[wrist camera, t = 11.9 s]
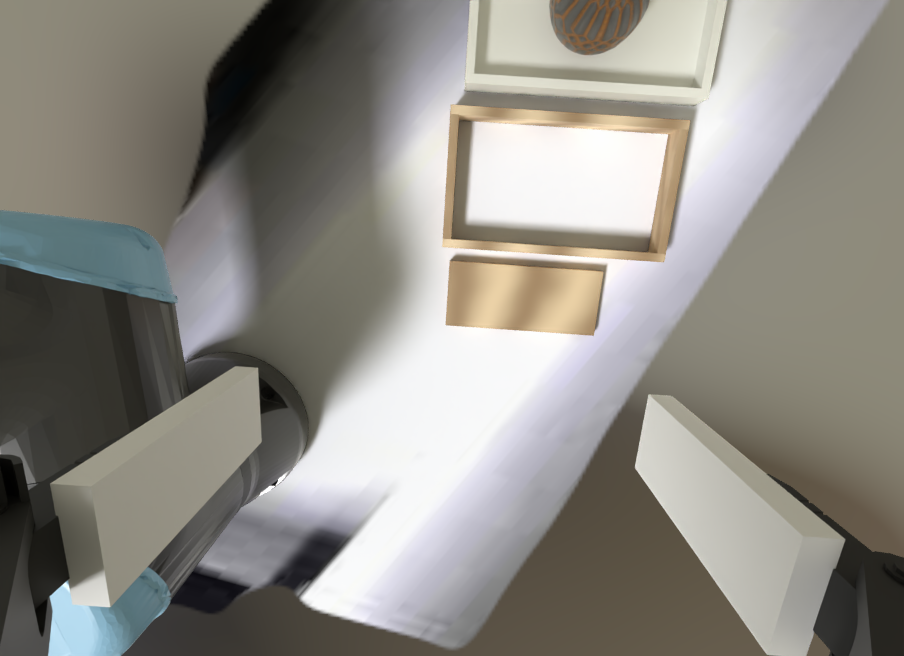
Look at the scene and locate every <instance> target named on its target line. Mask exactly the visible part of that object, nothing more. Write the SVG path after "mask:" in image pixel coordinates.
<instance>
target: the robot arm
mask: <svg viewBox="0 0 904 656" xmlns="http://www.w3.org/2000/svg"><path fill="white" fill-rule="evenodd" d="M175 303H177V296H176V295H174V294H173V291H172V287H171V283H170V278H169V274H168V270H167V266H166V262H165V258H164V253H163V250H162V248H161V246H160V245H159V243H158V242H157V241H156V240H155V239H154V238H153V237H152V236H151V235H150V234H148V233H146V232H145V231H143V230H141V229H139V228H136V227H133V226H129V225H124V224H117V223H111V222H104V221H96V220H88V219H80V218H71V217H63V216H53V215H45V214H35V213H26V212H15V211H4V210H0V656H120V655H122V654H123V653H124V652H125V651H126V650H127V649H128V648H129V647H130V646H131V645H132V644H133V643H134V641H135V640H136V639H137V638H138V637H139V636H140V635H141V633H142V632H143V631H144V630H145V629H146V628H147V627H148V625H149V624H150V623H151V622H152V621H153V620H154V619H155V618H157V617H158V616H159V615H161V614H162V613H163V612H164V611H165V610H166V608H167V607H168V605H169V603H170V601H171V599H172V598H173V597H174V595H175V594H176V593H177V591H178V590H179V589H180V587H181V586H182V585H183V583H184V582H185V581H186V579H187V578H188V577H189V575H190V574H191V573H192V571H193V570H194V569H195V567H196V566H197V565H198V563H199V562H200V561H201V559H202V558H203V557H204V555H205V554H206V553H207V551H208V550H209V549H210V547H211V546H212V545H213V544H214V542H215V541H216V540H217V538H218V537H219V536H220V534H221V533H222V532H223V530H224V529H225V528H226V526H227V525H228V524H229V522H230V521H231V520H232V518H233V517H234V516H235V515H236V513H237V512H238V511H239V509H240V508H241V507H243V506H244V505H246V504H248V503H249V502H251V501H253V500H254V499H256V498H257V497H258V496H260V495H262V494H264V493H266V492H268V491H270V490H271V489H273V488H274V487H276V486H277V485H278V484H280V483H281V482H282V481H283V480H284V479H285V478H286V477H287V476H288V475H289V474H290V472H291V471H292V469H293V468H294V467H295V465H296V464H297V462H298V461H299V459H300V458H301V456H302V454H303V452H304V449H305V446H306V443H307V438H308V420H307V414H306V411H305V407H304V405H303V402H302V400H301V398H300V396H299V394H298V393H297V391H296V390H295V388H294V387H293V385H292V384H291V383H290V382H289V381H288V380H287V379H286V378H285V377H284V376H283V375H282V374H281V373H280V372H279V371H277V370H276V369H275V368H273V367H272V366H270V365H269V364H267V363H265V362H263V361H261V360H259V359H256V358H254V357H251V356H248V355H244V354H239V353H231V352H220V353H212V354H208V355H204V356H201V357H198V358H196V359H194V360H192V361H190V362H188V363H186V364H185V362H184V356H183V350H182V345H181V339H180V333H179V327H178V320H177V313H176V306H175ZM635 469H636V470H637V471H638V473H639V474H640V476H641V477H642V478H643V480H644V481H645V483H646V484H647V485H648V487H649V488H650V490H651V491H652V493H653V494H654V495H655V497H656V498H657V500H658V501H659V502H660V504H661V505H662V507H663V508H664V510H665V511H666V512H667V514H668V515H669V517H670V518H671V519H672V521H673V522H674V524H675V525H676V527H677V528H678V529H679V531H680V532H681V534H682V535H683V536H684V538H685V539H686V540H687V542H688V543H689V545H690V546H691V548H692V549H693V550H694V552H695V554H696V555H697V556H698V558H699V559H700V561H701V562H702V563H703V565H704V566H705V568H706V569H707V570H708V572H709V573H710V575H711V576H712V577H713V579H714V580H715V582H716V583H717V585H718V586H719V588H720V589H721V590H722V592H723V593H724V595H725V596H726V597H727V599H728V600H729V602H730V603H731V604H732V606H733V607H734V609H735V610H736V612H737V613H738V614H739V616H740V617H741V619H742V620H743V622H745V624H746V626H747V627H748V628H749V630H750V631H751V633H752V634H753V636H754V637H755V638H756V640H757V641H758V643H759V644H760V646H761V647H762V648H763V650H764V651H765V653H766V654H767V655H778V656H806V655H807V652H808V649H809V646H810V643H811V640H812V637H813V634H814V632H815V633H816V634H817V635H818V637H819V638H820V639H821V640H822V641H823V642H824V643H825V645H826V646H827V647H828V648H829V649H830V651H831V652H830V654H829V656H904V558H903V557H899V556H896V555H893V554H890V553H882V552H876V551H875V552H872V551H871V550H870V549H868V548H867V547H866V546H865V545H863V544H862V543H861V542H860V541H858V540H857V539H856V538H855V537H853V536H852V535H851V534H850V533H848V532H847V531H846V530H845V529H843V528H842V527H841V526H840V525H839V524H837V523H836V522H835V521H834V520H832V519H831V518H830V517H828V516H827V515H823V512H822V511H821V510H820V509H818V508H817V507H816V506H815V505H814V504H812V503H809V502H808V500H807V499H806V498H805V497H803V496H802V495H801V494H800V493H799V492H797V491H796V490H795V489H794V488H792V487H791V486H789V485H787V484H785V483H784V482H782V481H780V480H778V479H776V478H775V477H773V476H771V475H769V474H766V473H764V472H763V471H762V470H761V469H760V468H758V467H757V466H756V465H754V463H752V462H751V461H750V460H749V459H747V458H746V457H745V456H744V455H743V454H741V453H740V452H739V451H738V450H737V449H735V448H734V447H733V446H732V445H730V444H729V443H728V442H727V441H726V440H724V439H723V438H722V437H721V436H720V435H718V434H717V433H716V432H715V431H714V430H712V429H711V428H710V427H709V426H707V425H706V424H705V423H704V422H702V421H701V420H700V419H699V418H698V417H697V416H695V415H694V414H693V413H692V412H690V411H689V410H688V409H687V408H686V407H684V406H683V405H682V404H681V403H680V402H678V401H677V400H676V399H675V398H674V397H672V396H666V395H650V394H649V396H648V401H647V406H646V411H645V417H644V422H643V428H642V433H641V438H640V444H639V449H638V454H637V459H636V465H635Z"/></svg>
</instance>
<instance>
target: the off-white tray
mask: <svg viewBox="0 0 904 656" xmlns="http://www.w3.org/2000/svg"><path fill="white" fill-rule="evenodd" d="M549 4H550V0H470V10H469V25H468V40H467V55H466V70H465V91H472V92H488V93H503V94H518V95H533V96H548V97H563V98H579V99H594V100H609V101H624V102H639V103H654V104H670V105H685V106H695V105H697V104H699V103H701V102H703V101H705V100H707V99H708V98H709V93H710V88H711V83H712V78H713V72H714V67H715V62H716V57H717V52H718V47H719V41H720V36H721V31H722V26H723V21H724V15H725V10H726V5H727V0H650V3H649V6H648V8H647V10H646V12H645V14H644V16H643V18H642V20H641V21H640V23H639V24H638V26H637V27H636V28H635V30H634V31H633V32H632V33H631V34H630V35H629V36H628V37H627V38H626V39H625V40H624V41H623V42H621V43H620V44H619V45H618V46H616V47H615V48H613V49H611V50H609V51H606V52H604V53H601V54H597V55H581V54H577V53H574V52H572V51H570V50H569V49H567V48H566V47H565V46H564V45H563V44H562V43H561V42H560V41H559V39H558V38H557V36H556V34H555V32H554V30H553V27H552V24H551V19H550V8H549Z"/></svg>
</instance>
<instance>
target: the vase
mask: <svg viewBox="0 0 904 656" xmlns="http://www.w3.org/2000/svg"><path fill="white" fill-rule="evenodd" d="M649 3H650V0H550V4H549V8H550V19H551V24H552V27H553V30H554V32H555V34H556V36H557V38H558V39H559V41H560V42H561V43H562V44H563V45H564V46H565V47H566V48H567V49H569V50H570V51H572V52H574V53H577V54H581V55H597V54H601V53H604V52H606V51H609V50H611V49H613V48H615V47H616V46H618V45H619V44H620V43H621V42H623V41H624V40H625V39H626V38H627V37H628V36H629V35H630V34H631V33H632V32H633V31H634V30H635V28H636V27H637V26H638V24H639V23H640V21H641V20H642V18H643V16H644V14H645V12H646V10H647V8H648V6H649Z"/></svg>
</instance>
